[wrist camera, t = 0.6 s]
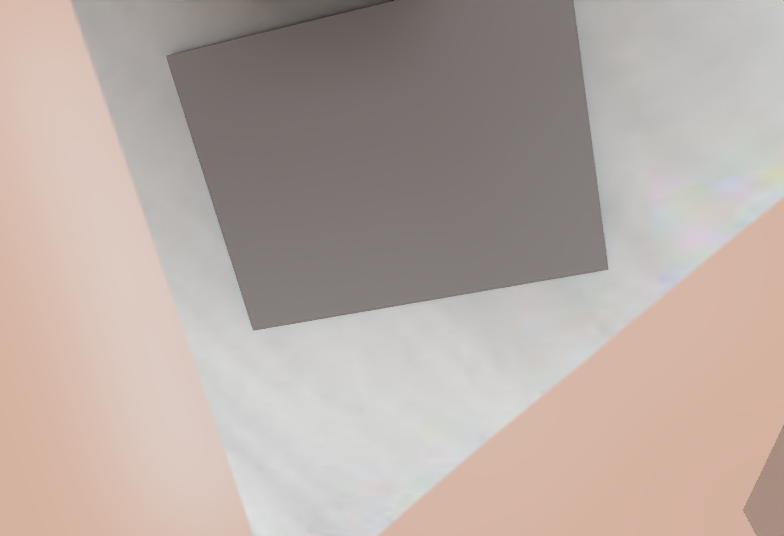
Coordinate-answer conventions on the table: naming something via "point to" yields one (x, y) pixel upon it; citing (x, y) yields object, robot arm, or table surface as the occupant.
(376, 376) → the table surface
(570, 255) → the mat
